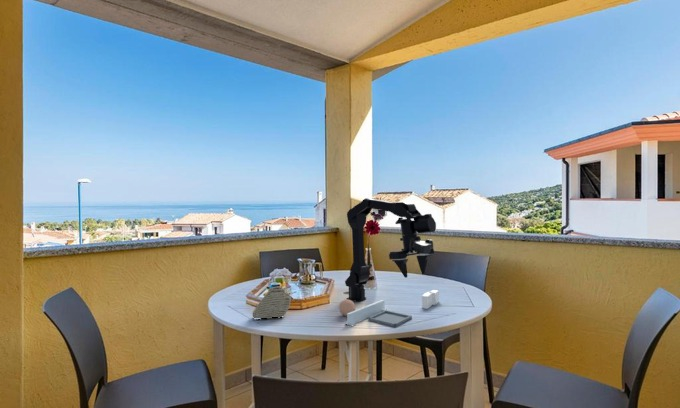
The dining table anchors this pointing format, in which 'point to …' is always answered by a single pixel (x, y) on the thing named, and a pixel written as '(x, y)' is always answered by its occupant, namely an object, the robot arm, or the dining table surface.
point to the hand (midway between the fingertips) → (414, 275)
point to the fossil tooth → (273, 304)
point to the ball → (346, 307)
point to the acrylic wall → (365, 312)
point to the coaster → (390, 318)
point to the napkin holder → (430, 298)
